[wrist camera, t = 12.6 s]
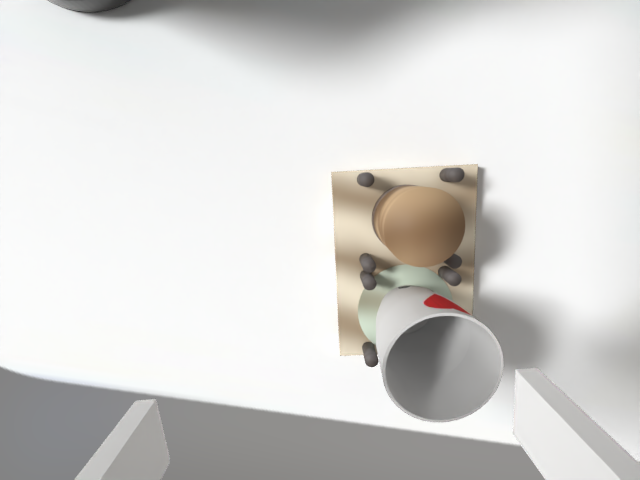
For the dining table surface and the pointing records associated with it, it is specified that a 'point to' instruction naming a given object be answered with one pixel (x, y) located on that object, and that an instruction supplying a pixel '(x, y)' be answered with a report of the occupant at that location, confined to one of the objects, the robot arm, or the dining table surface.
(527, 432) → the robot arm
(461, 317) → the cup
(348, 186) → the pin board
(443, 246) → the wooden round post
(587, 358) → the dining table surface
